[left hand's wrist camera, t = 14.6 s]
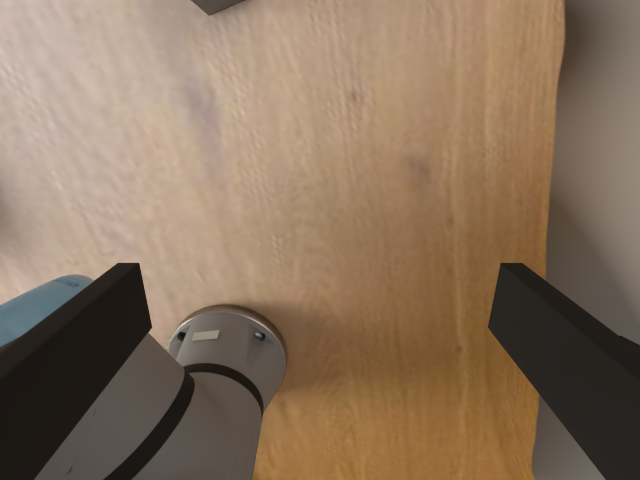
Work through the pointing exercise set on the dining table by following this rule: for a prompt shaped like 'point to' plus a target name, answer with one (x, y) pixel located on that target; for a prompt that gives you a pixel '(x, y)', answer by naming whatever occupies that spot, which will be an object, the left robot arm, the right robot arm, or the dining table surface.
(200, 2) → the grey cube
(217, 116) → the dining table surface
